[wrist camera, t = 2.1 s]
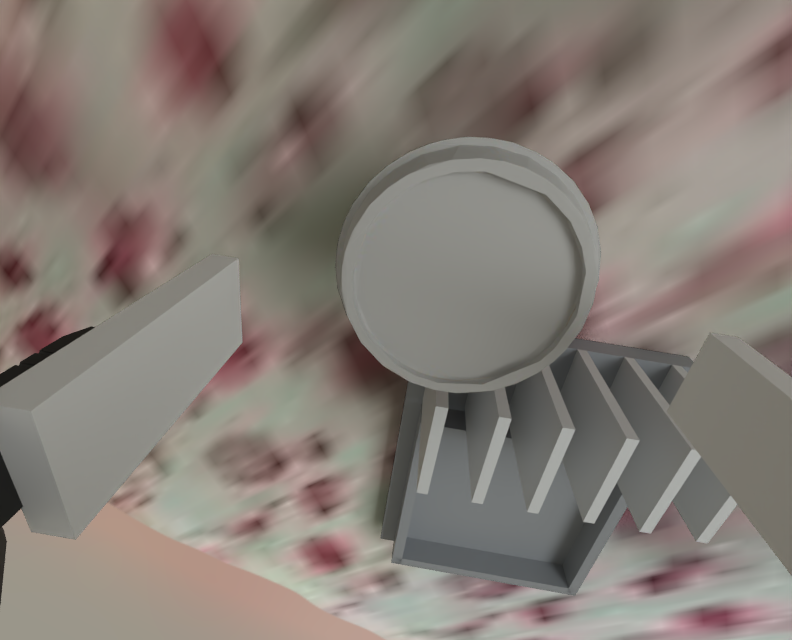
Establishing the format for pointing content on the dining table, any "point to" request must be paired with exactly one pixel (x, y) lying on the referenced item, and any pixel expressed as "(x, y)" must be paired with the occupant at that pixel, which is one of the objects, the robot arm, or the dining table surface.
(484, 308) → the disposable coffee cup
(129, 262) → the dining table surface
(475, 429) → the dish rack
